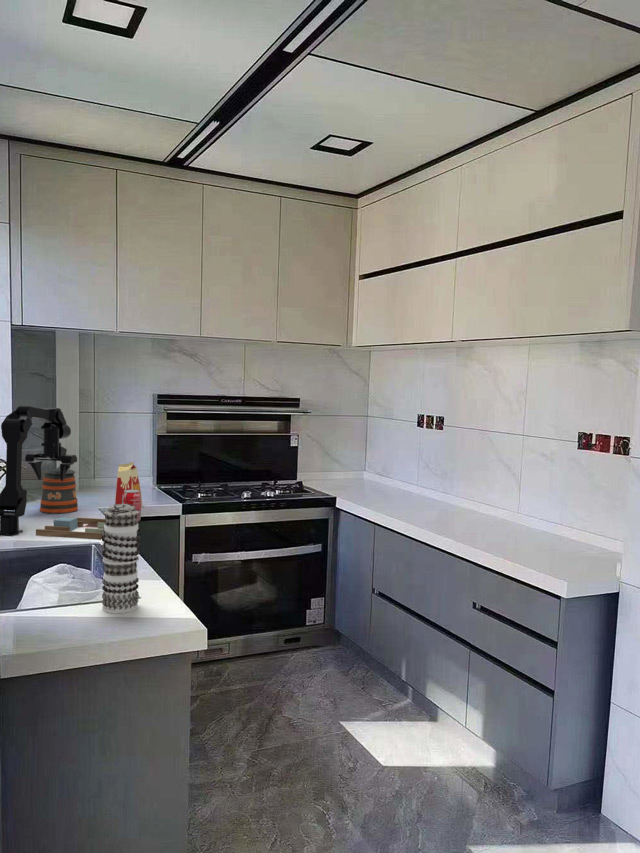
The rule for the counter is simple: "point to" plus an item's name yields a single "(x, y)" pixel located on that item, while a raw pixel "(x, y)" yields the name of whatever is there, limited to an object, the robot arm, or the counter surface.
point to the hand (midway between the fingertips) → (51, 480)
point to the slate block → (66, 522)
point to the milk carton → (126, 481)
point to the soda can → (133, 500)
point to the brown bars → (65, 531)
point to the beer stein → (58, 492)
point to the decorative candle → (120, 559)
